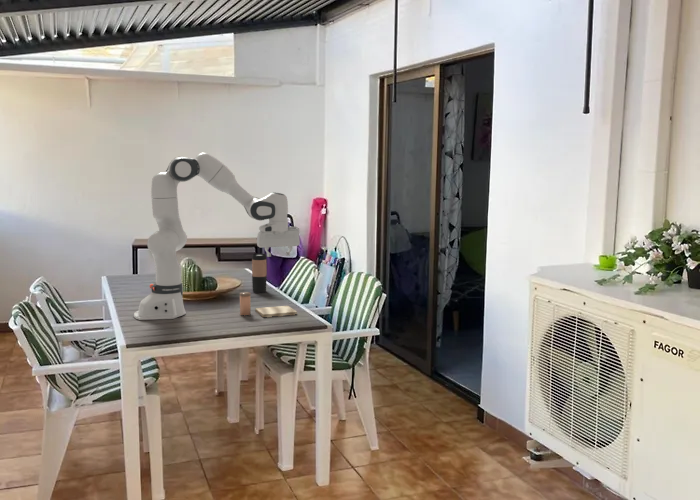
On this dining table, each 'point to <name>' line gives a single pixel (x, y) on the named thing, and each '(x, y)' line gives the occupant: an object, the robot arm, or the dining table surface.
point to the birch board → (275, 311)
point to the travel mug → (259, 273)
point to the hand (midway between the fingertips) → (278, 256)
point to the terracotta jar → (245, 303)
